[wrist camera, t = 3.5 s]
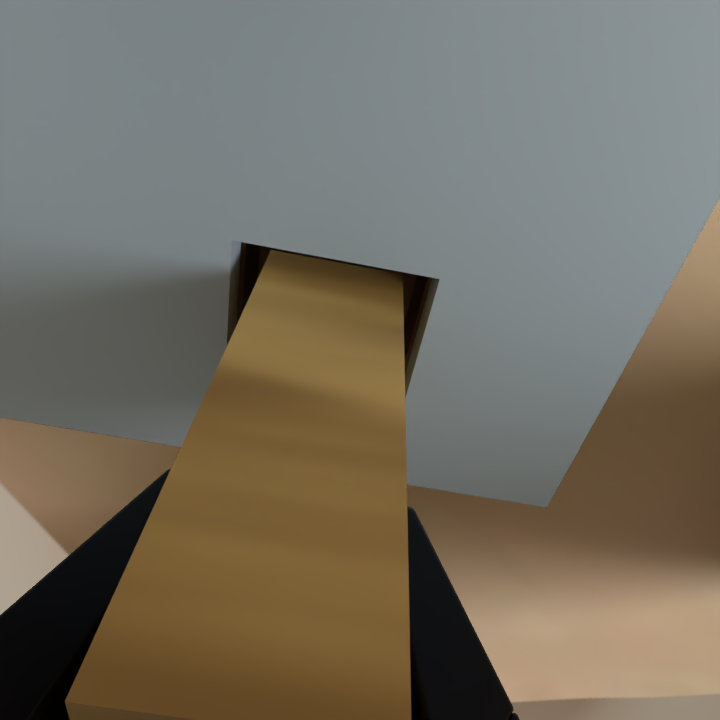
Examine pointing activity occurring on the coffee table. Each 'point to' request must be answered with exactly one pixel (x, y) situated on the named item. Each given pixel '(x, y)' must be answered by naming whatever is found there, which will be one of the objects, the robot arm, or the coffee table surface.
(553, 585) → the coffee table surface
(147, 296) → the grey plate with hole
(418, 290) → the brown open tray
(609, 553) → the coffee table surface
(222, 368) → the golden wooden block
